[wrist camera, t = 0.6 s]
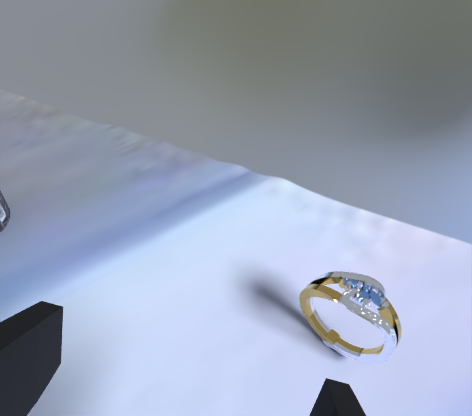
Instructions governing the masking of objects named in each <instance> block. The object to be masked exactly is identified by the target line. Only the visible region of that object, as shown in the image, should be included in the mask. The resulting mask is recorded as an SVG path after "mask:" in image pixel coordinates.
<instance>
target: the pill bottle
mask: <svg viewBox="0 0 472 416" xmlns="http://www.w3.org/2000/svg"><path fill="white" fill-rule="evenodd" d="M9 219H10V209H9V207H8V205H7V203H6V201H5V199H4V197H3V195H2V193H1V191H0V232H1V231H2V230H3V229H4V228H5V227H6V225H7V223H8V222H9Z"/></svg>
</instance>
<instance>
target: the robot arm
mask: <svg viewBox="0 0 472 416" xmlns="http://www.w3.org/2000/svg"><path fill="white" fill-rule="evenodd" d="M62 321H63V307H62V306H58V305H54V304H51V303H47V302H43V301H41V302H39V303H37V304H35V305H33V306H31V307H29V308H27V309H25V310H23V311H21V312H19V313H17V314H15V315H14V316H12V317H10V318H8V319H6V320H4V321H2V322H0V416H26V415H27V414H28V413H29V412H30V410H31V409H32V408H33V406H34V405H35V404H36V402H37V401H38V399H39V398H40V396H41V395H42V393H43V391H44V390H45V388H46V387H47V385H48V384H49V382H50V380H51V379H52V377H53V375H54V374H55V372H56V370H57V369H58V367H59V365H60V364H61V346H62ZM310 416H366V415H365V413H364V411H363V409H362V407H361V405H360V404H359V402H358V400H357V398H356V396H355V394H354V392H353V391H352V389H351V387H350V385H349V384H345V383H342V382H338V381H334V380H331V379H327V378H326V380H325V382H324V384H323V386H322V389H321V391H320V393H319V395H318V398H317V400H316V402H315V404H314V407H313V409H312V411H311V413H310Z"/></svg>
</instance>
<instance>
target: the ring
mask: <svg viewBox="0 0 472 416" xmlns="http://www.w3.org/2000/svg"><path fill="white" fill-rule="evenodd" d="M333 283H339V286H340V287H341V288H342V289H343V288H344V289H345V292H343V293H342V294H341V293H339V292H337V291H335V290H333V289H331V288H329V287H326V286H323V285H327V284H333ZM313 297H321V298H325V299H329V300H332V301H335V302H338V303H341V304H343V305H345V307H346V308H347V309H348V310H350V311H351V312H353V313H355V314H357V315H359V316H360V317H362V318H364V319H366V320H368V321H369V322H371V323H372V324H374V325H375V326H376V327H377V328H378V329H379V330H380V331H381V332H382V334H383V336H384V344H383V345H381V346H379V347H377V348H373V349H364V348H359V347H356V346H353V345H351V344H349V343H347V342H345V341H344V340H342V339H341V338H339V337H340V336H339V335H338V333H337V332H335V331H334V330H332V329H331V330H330V329H329V328H328V327H327V326H326V325H325V324H324V323H323V321H322V320H321V319H320V317H319V316H318V314H317V312H316V310H315V307H314V304H313ZM300 306H301V309H302V312H303V314H304V316H305V318H306V319H307V321H308V323H309V324H310V325H311V327H312V328H313V329H314V331H315V332H316V333H317V334H318V335H319V336H320V337H321V338H322V339H323V340H322V341H323V343H324V344H325V345H326V346H328V347H329V348H331V347H332V348H333V349H334V350H336V351H337V352H339V353H340V354H342V355H343V356H345V357H347V358H349V359H351V360H354V361H357V362H360V363H364V364H381V363H383V362H385V361H387V360H388V359H389V358H390V356H391V355H392V354H393V352H394V350H395V348H396V347H397V345H398V344H399V341H400V338H401V325H400V321H399V318H398V316H397V314H396V312H395V310H394V308H393V307H392V305H391V304H390V302H389V301H388V300H387V298H386V292H385V289H384V287H383V286H382V285H381V283H379V282H378V281H377V280H375V279H374V278H371V277H369V276H366V275H362V274H357V273H350V272H328V273H325V274H322V275H320V276H318V277H316V278H315V279H314V280H312V281H311V282H310V283H309V284H308V285H307V286H306V288H305V289H304V290H303V291H302V292H301V293H300ZM367 306H371V307H373V308H374V310H375V311H376V312H378V313H379V314H380V316H379V315H378V314H376V313H374V312H372V311H370V310H368V309H366V307H367Z"/></svg>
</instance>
